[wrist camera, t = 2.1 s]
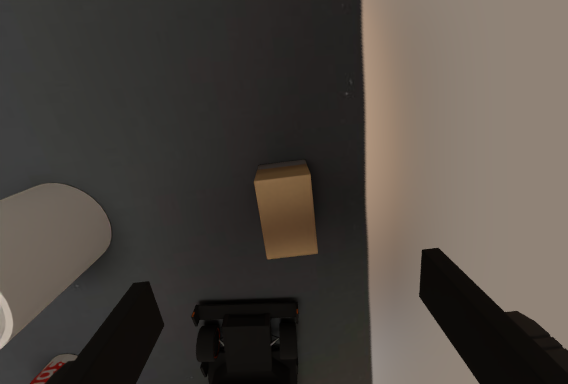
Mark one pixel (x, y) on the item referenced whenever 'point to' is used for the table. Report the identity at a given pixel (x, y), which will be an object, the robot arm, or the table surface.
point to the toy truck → (247, 343)
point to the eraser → (286, 209)
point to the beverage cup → (52, 368)
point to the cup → (45, 249)
